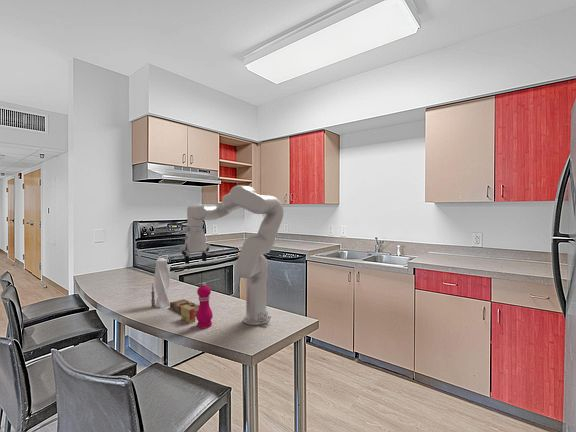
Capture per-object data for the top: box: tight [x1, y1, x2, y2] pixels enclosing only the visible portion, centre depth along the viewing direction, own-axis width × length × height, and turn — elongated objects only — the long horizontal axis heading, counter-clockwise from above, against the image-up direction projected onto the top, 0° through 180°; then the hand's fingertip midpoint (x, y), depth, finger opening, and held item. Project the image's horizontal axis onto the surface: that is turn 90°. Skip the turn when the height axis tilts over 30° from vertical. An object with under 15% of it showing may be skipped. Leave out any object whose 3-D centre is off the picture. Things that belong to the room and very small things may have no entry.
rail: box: [169, 298, 200, 318], centre depth 160 cm, size 22×8×3 cm, turn 48°
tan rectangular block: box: [180, 305, 196, 325], centre depth 146 cm, size 8×3×7 cm, turn 48°
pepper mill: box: [195, 282, 213, 329], centre depth 140 cm, size 7×7×20 cm
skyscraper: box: [150, 254, 170, 310], centre depth 168 cm, size 8×8×28 cm
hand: (195, 262), depth 160 cm, fingers open, 9 cm apart
